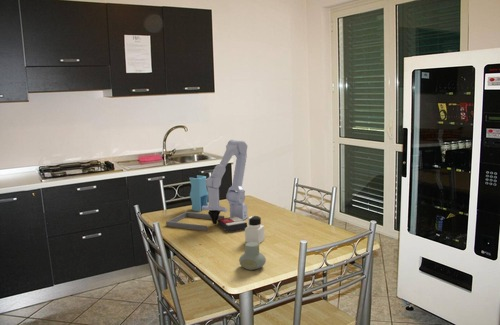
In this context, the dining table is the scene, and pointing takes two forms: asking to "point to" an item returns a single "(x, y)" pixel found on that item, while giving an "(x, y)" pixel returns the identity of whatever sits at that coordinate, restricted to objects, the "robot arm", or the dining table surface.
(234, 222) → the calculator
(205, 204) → the light blue tall block
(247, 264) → the air freshener
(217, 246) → the dining table surface
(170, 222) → the grey piece
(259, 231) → the medicine bottle
